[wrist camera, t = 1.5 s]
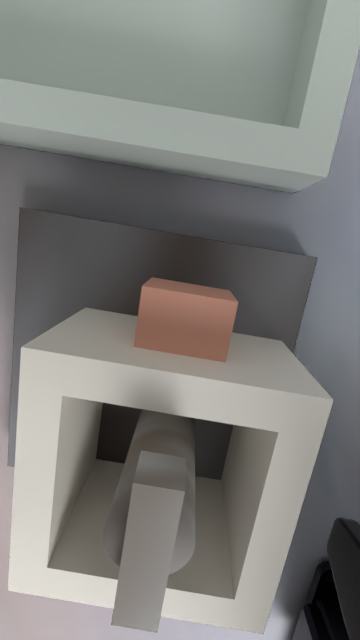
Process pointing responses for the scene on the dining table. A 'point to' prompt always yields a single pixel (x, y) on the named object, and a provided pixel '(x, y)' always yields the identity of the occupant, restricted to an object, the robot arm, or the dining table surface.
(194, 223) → the dining table surface
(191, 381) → the collar
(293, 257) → the stand
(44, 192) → the dining table surface
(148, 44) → the tray
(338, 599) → the robot arm
